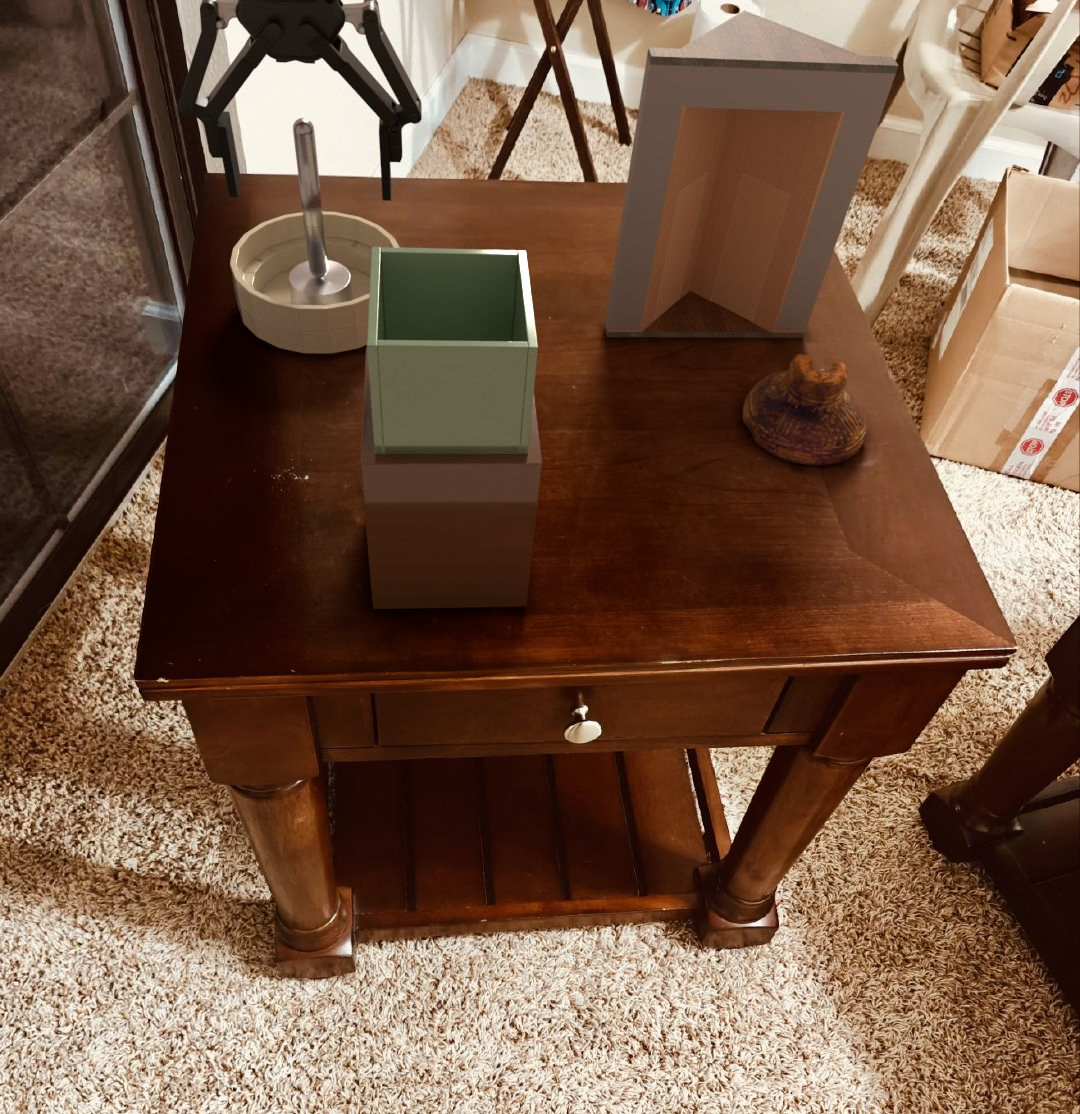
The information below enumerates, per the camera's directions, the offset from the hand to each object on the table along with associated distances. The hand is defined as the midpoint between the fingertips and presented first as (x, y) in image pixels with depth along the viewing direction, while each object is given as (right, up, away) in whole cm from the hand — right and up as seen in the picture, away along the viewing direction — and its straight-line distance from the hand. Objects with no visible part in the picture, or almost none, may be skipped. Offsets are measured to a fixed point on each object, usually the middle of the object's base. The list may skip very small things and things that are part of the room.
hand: (311, 191), depth 91 cm
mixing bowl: (-1, -8, +10) cm, 13 cm away
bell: (+46, -21, +4) cm, 51 cm away
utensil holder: (+13, -33, -9) cm, 37 cm away
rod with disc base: (-1, -8, +9) cm, 12 cm away
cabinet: (+38, -7, +15) cm, 41 cm away
